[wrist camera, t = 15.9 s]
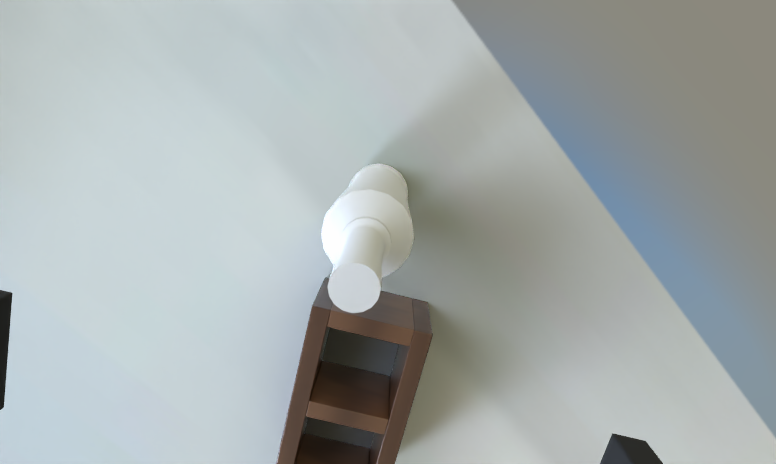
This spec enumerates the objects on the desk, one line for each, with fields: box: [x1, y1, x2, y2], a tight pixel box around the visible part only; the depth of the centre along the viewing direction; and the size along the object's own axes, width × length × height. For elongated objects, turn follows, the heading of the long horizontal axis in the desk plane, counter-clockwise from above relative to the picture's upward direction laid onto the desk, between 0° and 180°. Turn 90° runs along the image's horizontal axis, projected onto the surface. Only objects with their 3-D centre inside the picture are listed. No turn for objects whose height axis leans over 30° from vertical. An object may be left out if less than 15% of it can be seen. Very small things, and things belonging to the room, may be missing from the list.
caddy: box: [276, 278, 433, 464], centre depth 44 cm, size 10×18×7 cm, turn 166°
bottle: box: [321, 163, 414, 313], centre depth 31 cm, size 5×5×25 cm
